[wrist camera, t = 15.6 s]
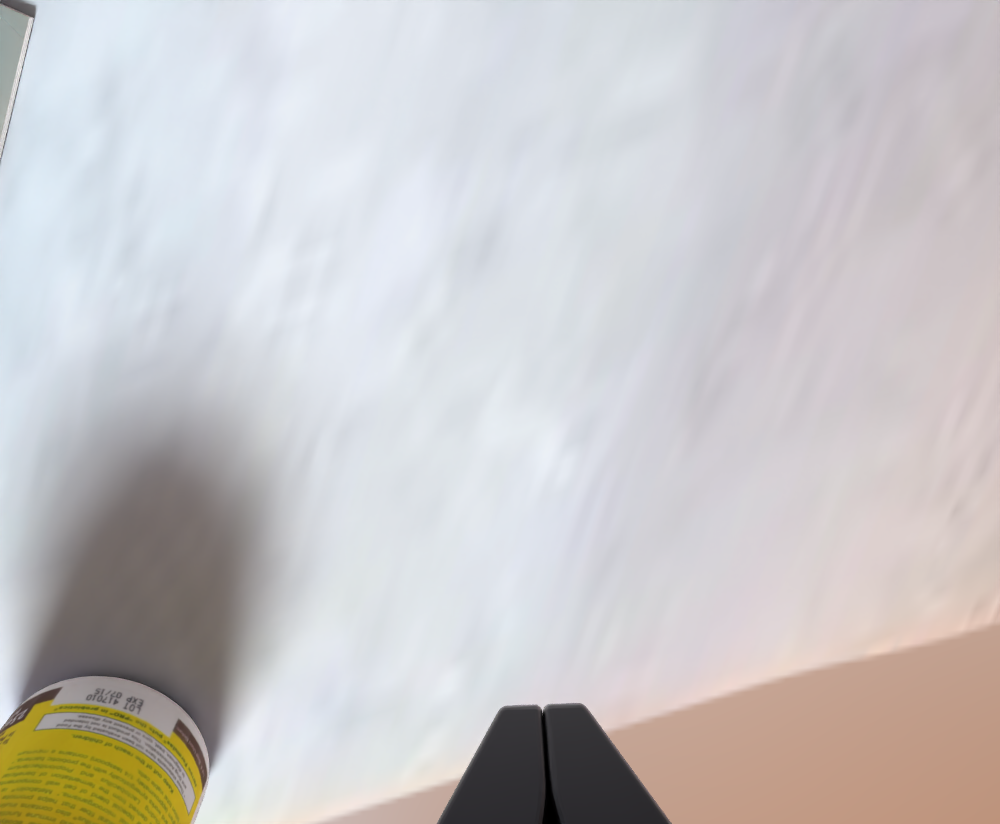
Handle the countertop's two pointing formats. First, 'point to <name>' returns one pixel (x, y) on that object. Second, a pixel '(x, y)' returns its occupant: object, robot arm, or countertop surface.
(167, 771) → the supplement bottle
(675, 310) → the countertop surface
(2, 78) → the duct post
